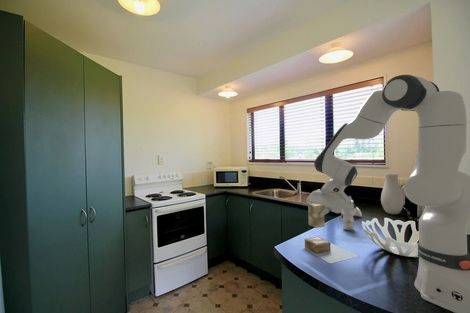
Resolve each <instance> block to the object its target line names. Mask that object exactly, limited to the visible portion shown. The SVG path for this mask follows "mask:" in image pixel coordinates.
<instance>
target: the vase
mask: <svg viewBox="0 0 470 313" xmlns="http://www.w3.org/2000/svg"><path fill="white" fill-rule="evenodd" d="M398 178H399V174H398V173H397V172H396V173H395V172H394V173H393V172H386V173H384V184H383V188H382V191H381V194H380V195H381V196H380V201H381V202H380V203H381V206H382V208H383V210H384V211H385V213H387V214H389V215H398V214H400V213H401V211H402V210H403V207H404V201H405V200H404V196H403V195H404V194H403V193H402V190H401V187H400V184H399V183H400V182H399V179H398Z"/></svg>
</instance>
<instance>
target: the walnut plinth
mask: <svg viewBox="0 0 470 313" xmlns="http://www.w3.org/2000/svg"><path fill="white" fill-rule="evenodd" d="M330 243H331V242H330V241H328V239H327V240H326V239H325V238H322V237H320V236H313V237H309V238H304V246H305V248H307V249H309V250H310V251H312V252H314V253H316V254H319V253H324V252H328V251H331V248H330Z"/></svg>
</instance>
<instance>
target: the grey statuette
mask: <svg viewBox="0 0 470 313" xmlns="http://www.w3.org/2000/svg"><path fill="white" fill-rule="evenodd" d="M347 197H348V198H349V200H348V201H347V202H346V205H345V207H344V208H343V215H342V224H341V226H342V228H343V230H345V231H354V230H355V228H356V224H355V220H354V217H353V210H354V204H355V203H354V202H353V203H354V204H353V203H352V202H351V200H352V196H351V195H347Z"/></svg>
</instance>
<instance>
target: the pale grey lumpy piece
mask: <svg viewBox="0 0 470 313" xmlns="http://www.w3.org/2000/svg"><path fill="white" fill-rule="evenodd" d="M351 202H352V203H353V204H354V210H353V218H355V217H356V216H357V217H358V218H360V217H362V211H361V209H360V208H359V207H357V206H356V204H355V203H354V200H353V199H351ZM340 214H341V216H343V210H342V211H341V212H340Z"/></svg>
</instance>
